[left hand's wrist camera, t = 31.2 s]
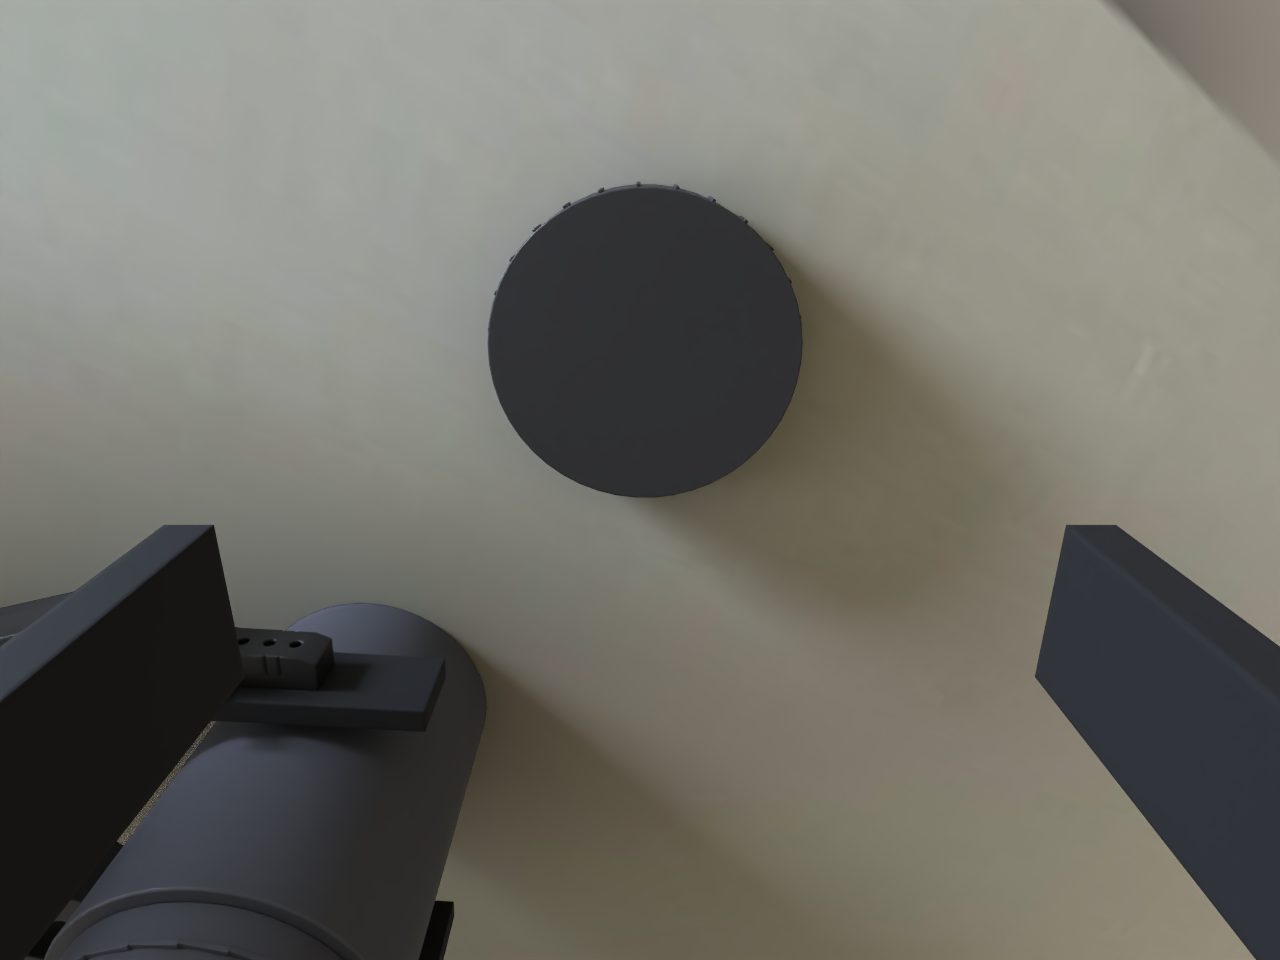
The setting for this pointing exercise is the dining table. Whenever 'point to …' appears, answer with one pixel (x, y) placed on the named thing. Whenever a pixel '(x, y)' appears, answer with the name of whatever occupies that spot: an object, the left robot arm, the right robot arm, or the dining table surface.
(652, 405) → the lid
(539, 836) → the dining table surface
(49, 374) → the dining table surface
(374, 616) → the jar
